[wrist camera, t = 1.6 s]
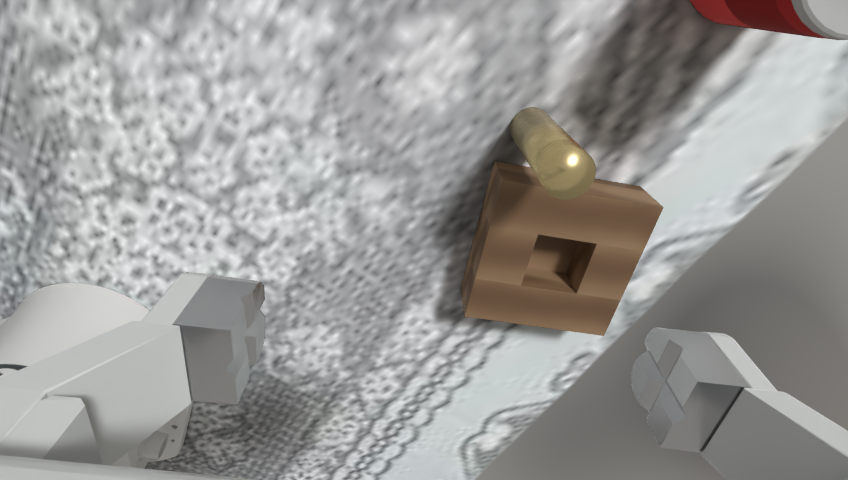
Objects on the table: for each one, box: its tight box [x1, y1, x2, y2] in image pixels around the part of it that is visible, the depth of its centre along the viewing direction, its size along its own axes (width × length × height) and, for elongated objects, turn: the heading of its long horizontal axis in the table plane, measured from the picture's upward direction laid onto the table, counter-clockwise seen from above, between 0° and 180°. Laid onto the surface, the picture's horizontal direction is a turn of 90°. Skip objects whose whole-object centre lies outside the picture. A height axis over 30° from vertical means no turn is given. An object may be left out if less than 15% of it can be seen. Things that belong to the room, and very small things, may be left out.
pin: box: [510, 107, 596, 200], centre depth 31 cm, size 3×3×10 cm
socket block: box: [460, 161, 663, 336], centre depth 38 cm, size 12×12×4 cm
